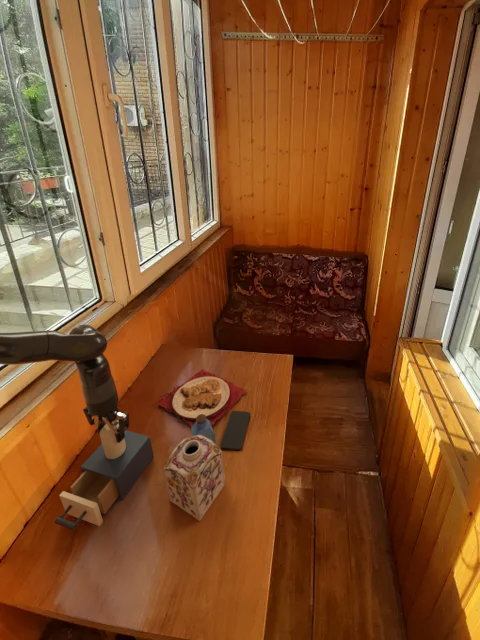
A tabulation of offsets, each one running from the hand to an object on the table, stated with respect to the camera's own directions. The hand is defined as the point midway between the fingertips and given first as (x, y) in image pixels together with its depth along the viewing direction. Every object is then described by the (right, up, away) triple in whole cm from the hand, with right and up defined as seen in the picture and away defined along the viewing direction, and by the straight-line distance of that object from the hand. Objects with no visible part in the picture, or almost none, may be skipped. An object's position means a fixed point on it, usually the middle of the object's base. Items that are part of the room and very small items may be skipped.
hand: (112, 437), depth 91 cm
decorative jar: (+25, -16, -1) cm, 30 cm away
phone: (+33, -9, +19) cm, 39 cm away
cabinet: (0, -14, +5) cm, 15 cm away
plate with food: (+18, -4, +33) cm, 37 cm away
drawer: (-2, -16, -4) cm, 17 cm away
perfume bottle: (+23, -11, +14) cm, 29 cm away
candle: (0, -5, +2) cm, 6 cm away
